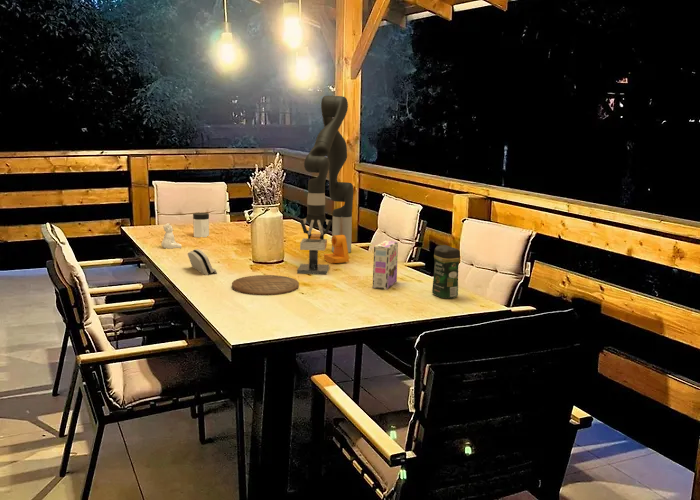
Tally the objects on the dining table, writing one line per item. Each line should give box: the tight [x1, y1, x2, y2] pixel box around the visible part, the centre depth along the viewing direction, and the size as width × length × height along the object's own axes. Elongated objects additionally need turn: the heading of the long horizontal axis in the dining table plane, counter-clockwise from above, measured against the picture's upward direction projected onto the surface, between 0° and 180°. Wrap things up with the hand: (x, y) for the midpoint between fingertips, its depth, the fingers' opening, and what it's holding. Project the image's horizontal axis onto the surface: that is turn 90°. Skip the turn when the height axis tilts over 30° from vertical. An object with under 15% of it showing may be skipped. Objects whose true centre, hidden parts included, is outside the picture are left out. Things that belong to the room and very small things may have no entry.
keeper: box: [296, 250, 330, 275], centre depth 282 cm, size 12×12×12 cm
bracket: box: [323, 235, 350, 264], centre depth 301 cm, size 11×7×12 cm, turn 29°
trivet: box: [231, 274, 300, 296], centre depth 255 cm, size 25×25×2 cm
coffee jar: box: [431, 244, 461, 300], centre depth 246 cm, size 10×8×19 cm
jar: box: [192, 212, 210, 238], centre depth 355 cm, size 9×8×12 cm
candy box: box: [372, 240, 399, 290], centre depth 260 cm, size 14×6×16 cm, turn 160°
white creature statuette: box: [161, 222, 182, 250], centre depth 323 cm, size 10×9×12 cm
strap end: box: [299, 233, 328, 252], centre depth 284 cm, size 17×10×4 cm, turn 177°
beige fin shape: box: [187, 248, 218, 276], centre depth 278 cm, size 17×5×10 cm, turn 32°
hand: (315, 243), depth 289 cm, fingers closed on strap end, 4 cm apart
